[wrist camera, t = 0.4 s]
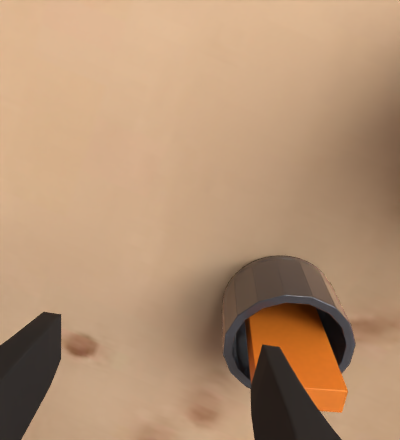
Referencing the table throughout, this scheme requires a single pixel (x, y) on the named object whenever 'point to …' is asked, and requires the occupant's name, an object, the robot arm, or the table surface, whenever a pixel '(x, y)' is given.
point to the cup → (274, 295)
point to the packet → (299, 350)
